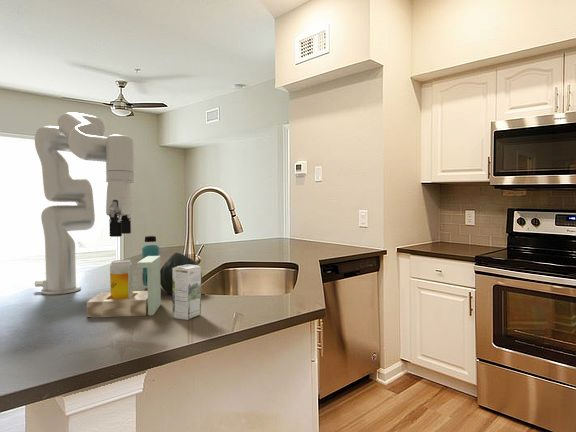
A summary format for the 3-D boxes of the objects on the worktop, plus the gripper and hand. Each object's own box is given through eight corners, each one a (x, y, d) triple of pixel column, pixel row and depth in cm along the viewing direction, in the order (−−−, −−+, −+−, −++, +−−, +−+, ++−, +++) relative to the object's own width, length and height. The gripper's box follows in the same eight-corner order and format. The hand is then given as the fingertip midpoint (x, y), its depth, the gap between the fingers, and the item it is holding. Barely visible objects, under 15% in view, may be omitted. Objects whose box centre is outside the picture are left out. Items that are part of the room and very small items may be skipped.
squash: (201, 281, 134) (200, 245, 143) (155, 285, 131) (157, 248, 140) (203, 301, 145) (201, 266, 154) (161, 305, 142) (162, 269, 151)
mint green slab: (137, 316, 111) (136, 262, 111) (148, 304, 125) (147, 256, 125) (152, 316, 112) (151, 262, 111) (161, 303, 126) (160, 255, 125)
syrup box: (185, 312, 115) (185, 263, 115) (201, 315, 113) (201, 265, 112) (172, 318, 110) (171, 266, 109) (188, 320, 107) (188, 268, 107)
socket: (87, 317, 110) (86, 302, 110) (101, 306, 122) (101, 292, 122) (145, 315, 113) (145, 299, 112) (154, 304, 125) (154, 290, 124)
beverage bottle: (163, 286, 151) (162, 235, 151) (155, 290, 145) (154, 236, 144) (147, 286, 152) (146, 235, 151) (138, 290, 145) (138, 236, 145)
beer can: (115, 308, 120) (114, 259, 120) (135, 307, 121) (134, 259, 120) (107, 313, 114) (106, 263, 114) (129, 313, 115) (128, 262, 114)
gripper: (115, 178, 124) (116, 232, 125) (96, 175, 107) (97, 237, 108) (140, 179, 125) (140, 232, 126) (125, 176, 108) (125, 237, 109)
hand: (120, 234), depth 117 cm, fingers open, 9 cm apart
